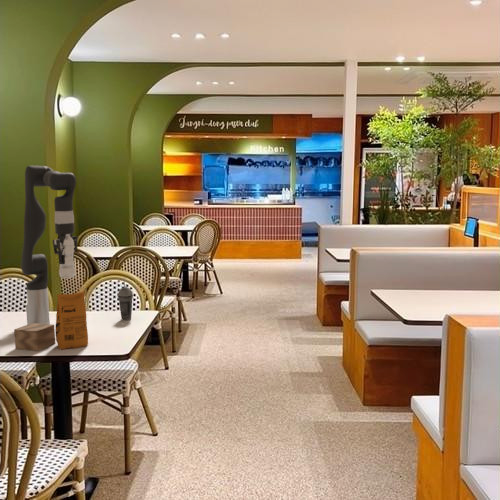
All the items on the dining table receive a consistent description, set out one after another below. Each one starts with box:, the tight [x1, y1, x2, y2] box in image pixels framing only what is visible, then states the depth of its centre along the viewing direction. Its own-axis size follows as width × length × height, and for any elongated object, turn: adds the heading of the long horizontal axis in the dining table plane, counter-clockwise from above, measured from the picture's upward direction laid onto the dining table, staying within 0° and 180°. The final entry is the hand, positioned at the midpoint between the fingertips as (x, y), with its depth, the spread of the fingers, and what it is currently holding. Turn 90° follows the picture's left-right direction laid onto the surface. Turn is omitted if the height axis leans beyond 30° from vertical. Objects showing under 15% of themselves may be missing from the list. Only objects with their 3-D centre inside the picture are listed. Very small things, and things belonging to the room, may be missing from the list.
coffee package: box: [55, 291, 89, 350], centre depth 245 cm, size 10×12×22 cm
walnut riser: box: [13, 323, 56, 352], centre depth 246 cm, size 11×11×8 cm
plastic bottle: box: [58, 234, 76, 279], centre depth 246 cm, size 6×7×20 cm
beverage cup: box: [117, 277, 134, 321], centre depth 289 cm, size 7×7×20 cm
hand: (66, 262), depth 246 cm, fingers closed on plastic bottle, 5 cm apart
